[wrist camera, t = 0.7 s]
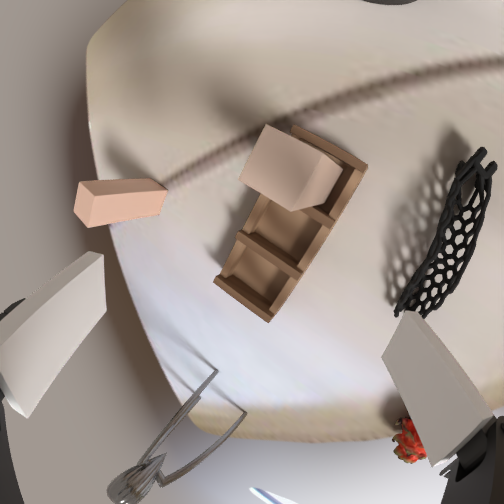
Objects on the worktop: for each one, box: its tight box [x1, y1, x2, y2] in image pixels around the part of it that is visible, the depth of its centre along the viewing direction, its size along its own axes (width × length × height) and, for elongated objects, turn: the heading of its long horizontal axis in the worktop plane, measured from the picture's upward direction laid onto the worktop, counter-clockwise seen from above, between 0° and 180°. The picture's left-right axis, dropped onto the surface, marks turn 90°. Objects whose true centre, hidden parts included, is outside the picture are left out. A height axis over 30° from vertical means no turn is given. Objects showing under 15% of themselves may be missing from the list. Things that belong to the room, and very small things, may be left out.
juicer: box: [107, 370, 247, 504], centre depth 33 cm, size 10×11×30 cm
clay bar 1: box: [74, 178, 168, 228], centre depth 36 cm, size 4×4×14 cm
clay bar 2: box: [238, 124, 343, 212], centre depth 24 cm, size 4×4×14 cm
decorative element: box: [394, 147, 497, 319], centre depth 23 cm, size 22×5×6 cm, turn 159°
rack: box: [213, 125, 368, 323], centre depth 32 cm, size 22×9×4 cm, turn 152°
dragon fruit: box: [392, 417, 427, 464], centre depth 28 cm, size 8×8×12 cm
